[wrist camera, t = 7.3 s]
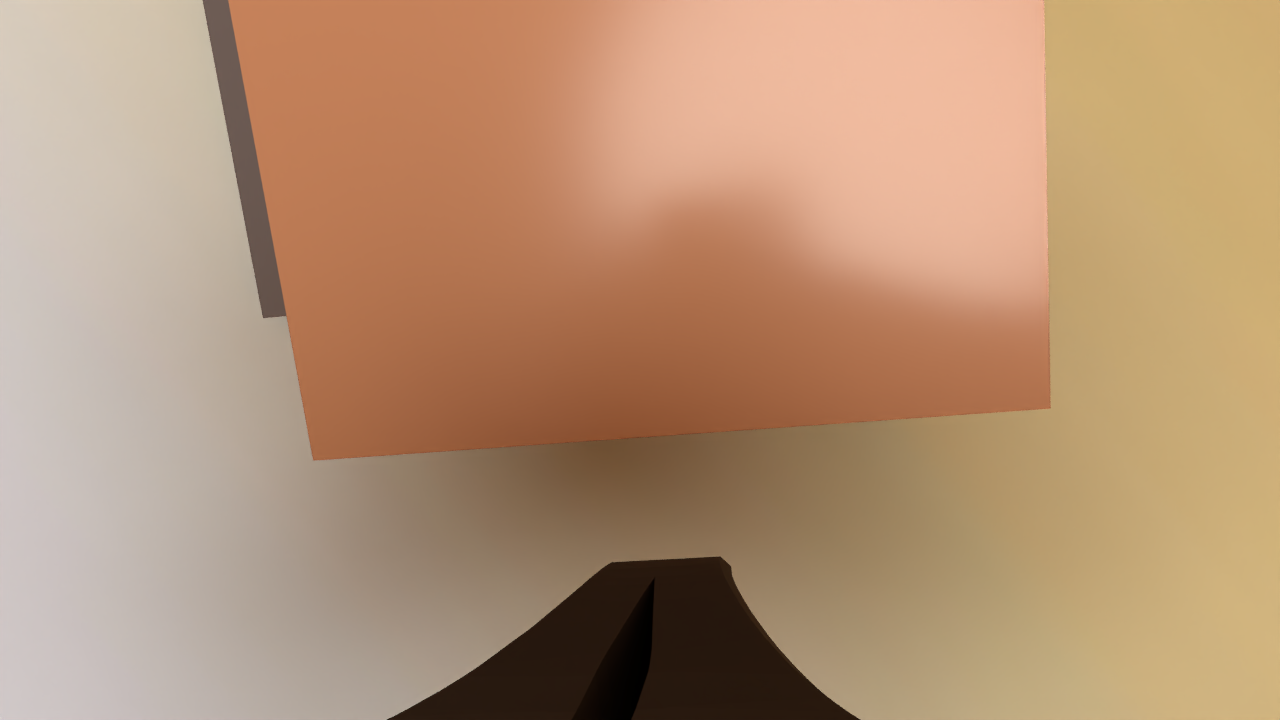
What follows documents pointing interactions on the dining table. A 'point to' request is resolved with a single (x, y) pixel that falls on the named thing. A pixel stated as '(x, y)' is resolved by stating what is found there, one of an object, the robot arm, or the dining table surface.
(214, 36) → the charcoal mat
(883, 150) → the orange rectangular block
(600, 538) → the dining table surface
